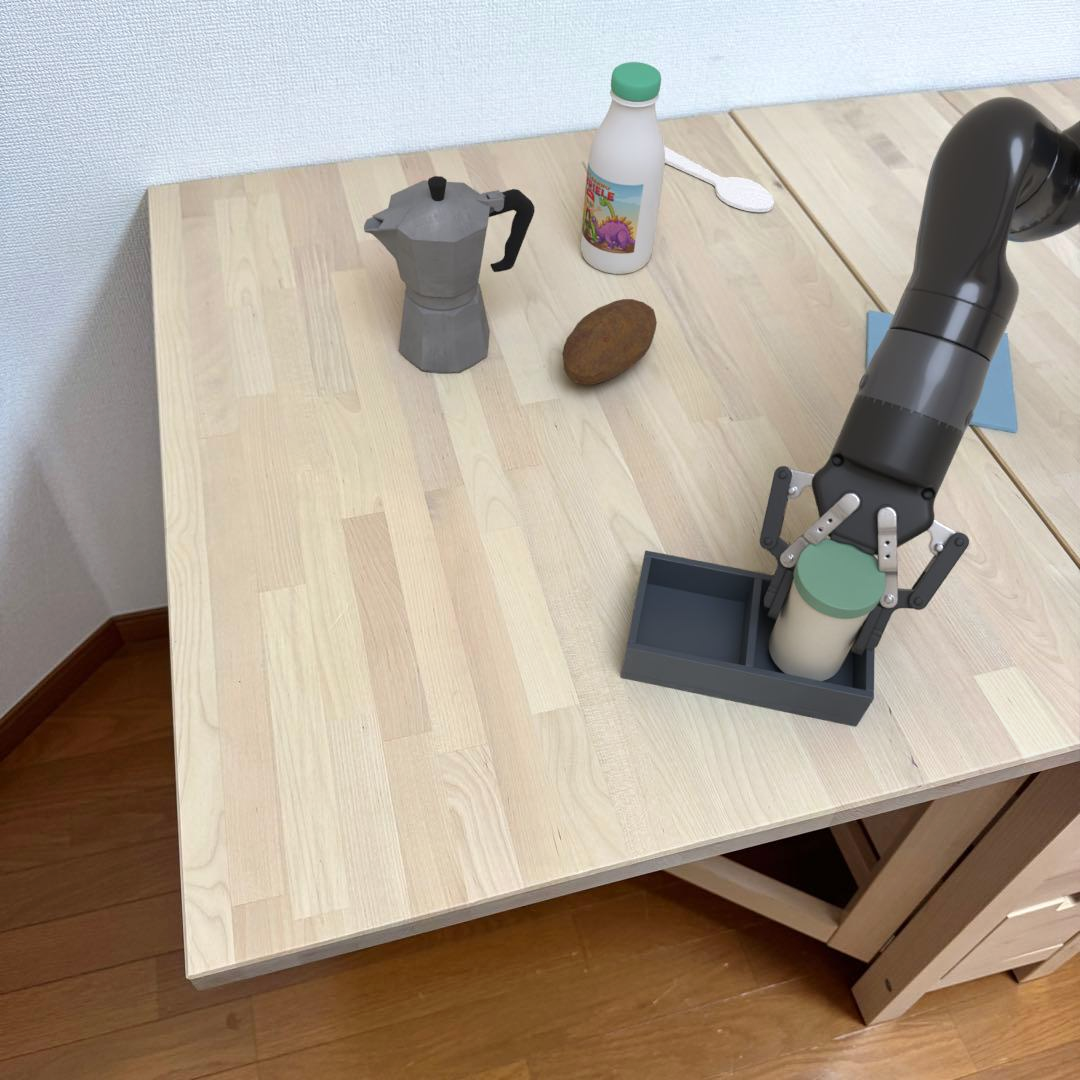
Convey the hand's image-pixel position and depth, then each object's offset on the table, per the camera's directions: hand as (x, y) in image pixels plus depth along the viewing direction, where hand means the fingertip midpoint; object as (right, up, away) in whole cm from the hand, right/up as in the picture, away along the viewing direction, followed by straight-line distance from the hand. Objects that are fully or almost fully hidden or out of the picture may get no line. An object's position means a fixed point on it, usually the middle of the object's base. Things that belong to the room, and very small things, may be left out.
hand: (814, 633), depth 71 cm
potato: (-13, +23, +26) cm, 37 cm away
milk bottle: (-11, +37, +37) cm, 54 cm away
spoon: (0, +49, +46) cm, 68 cm away
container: (+1, -2, +5) cm, 5 cm away
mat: (+20, +23, +28) cm, 41 cm away
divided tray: (-4, -2, +7) cm, 8 cm away
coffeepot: (-28, +26, +28) cm, 47 cm away
